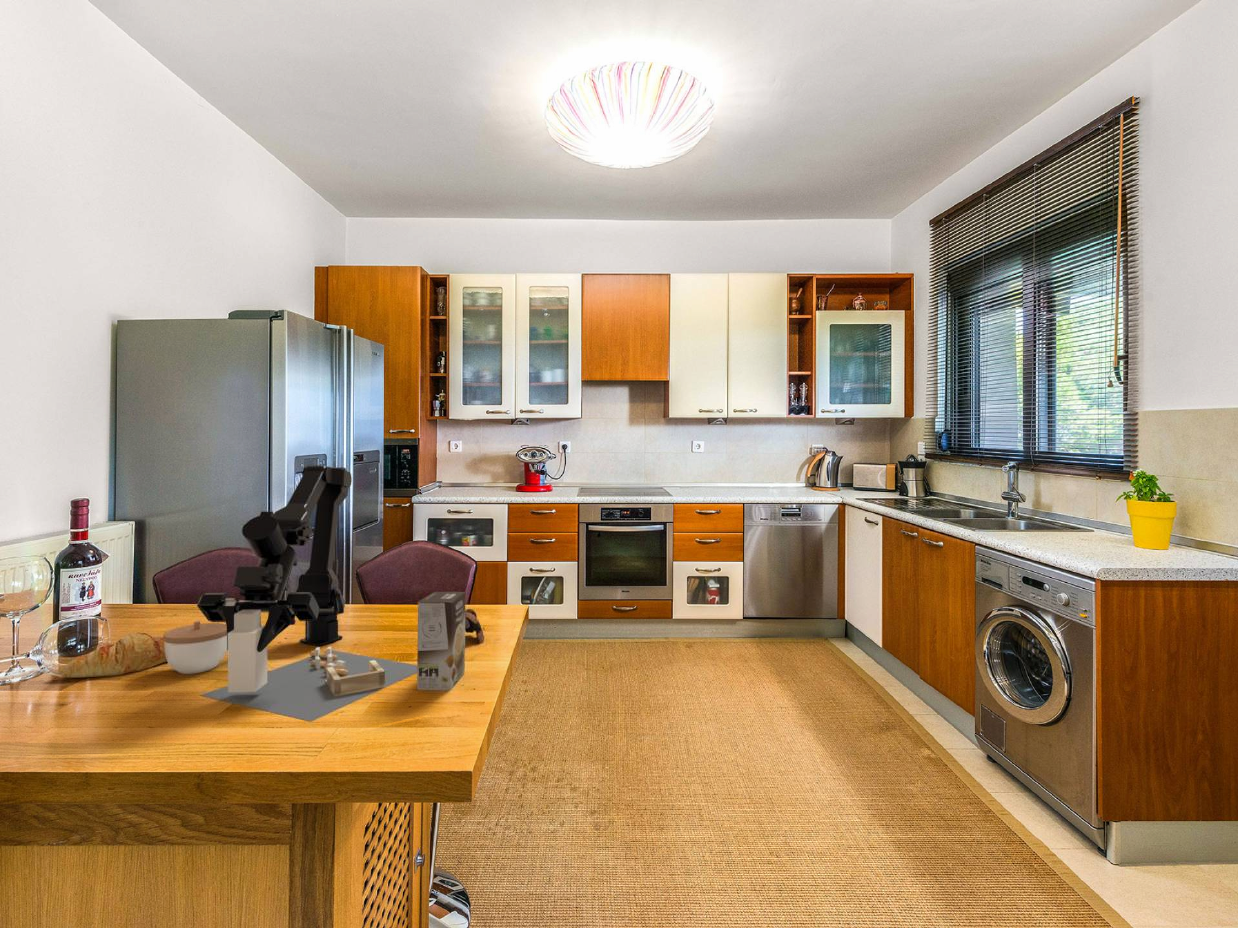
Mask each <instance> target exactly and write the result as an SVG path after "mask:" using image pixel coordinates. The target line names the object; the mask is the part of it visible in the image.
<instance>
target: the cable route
mask: <svg viewBox="0 0 1238 928" xmlns="http://www.w3.org/2000/svg"><path fill="white" fill-rule="evenodd" d="M332 650H333V649H332V646H328V647H327V648H326V651H327V653H323V652H321V647H319V646H318V647H315V650H311V651H310V652H309V657H311V656H314V657H315V660H312V661H311V665H314V666H315V668H316V669H317V670H318V669H320V667H325V668H324V671H325V672H326V675H327V668H330V667H333V668H334V670H335V671H336V673H337V674H340V675H345V676H346V675H347V674H348V670H345V662H344V661H340V660H338V661H336V664H334V663H333V660H336V659H337V655H332ZM320 658H325V659H327V662H323V661H320Z"/></svg>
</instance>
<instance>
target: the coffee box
mask: <svg viewBox="0 0 1238 928" xmlns="http://www.w3.org/2000/svg"><path fill="white" fill-rule="evenodd" d="M465 611H466V591H433V592H432V593H430V594H428V595H427V596H425V597H423V598H422V599H420V600H417V648H416V649H417V658H416V659H417V662H416V663H417V664H416V665H417V673H416V675H417V677H416V679H417V681H416V690H418V691H452V690H453V688H454V687H455V686H456V685H457V684H458V682H459V681H460V680H461V679H462V678H463V676H464V675H465V674H466V673H465V672H466V671H465V668H466V667H465V666H466V631H465Z"/></svg>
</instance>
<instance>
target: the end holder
mask: <svg viewBox="0 0 1238 928" xmlns="http://www.w3.org/2000/svg"><path fill="white" fill-rule="evenodd" d="M326 683H327V685H328V686H329V688H330V690H331V691H332V693H333V694H334V696H339V695H345V694H350V693H355V692H361V691H366V690H371V689H376V688H382V687H385V671H384V670H383V669H382V667H381V666H380V665H379V664H378V663H377V662H376V661H375V660H372V661H369V672H368V673H362V674H356V675H351V676H345V677H339V676H338V674H337V673H336V671H335V670H334V668H333V667H330V668H327V680H326ZM385 688H386V687H385Z"/></svg>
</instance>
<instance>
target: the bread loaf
mask: <svg viewBox="0 0 1238 928" xmlns="http://www.w3.org/2000/svg"><path fill="white" fill-rule="evenodd" d="M164 663H168V662H167V660H166V657H165V652H164V640H163V636H151V635H150V634H148V633H147V632H146V633H145V632H139V631H138V632H137V631H136V632H132V633H129V634H127V635H125V636H124V637H121V638H119V639H118V641H116V642H112V643H108V644H104V645H101V646H99V647H98V648H97V649H95V650H94V651H90V652H89V653H87V654H83V655H80V656H78V657H76V658H75V659H73V660H71V661H70V662H69V663H67V664H63V665H60V666H59V667H58V668H57V671H56V672H57V674H58V676H61V677H63V678H70V679H71V678H72V679H73V678H74V679H75V678H78V679H79V678H97V677H109V676H119V675H124V674H128V673H135V672H139V671H143V670H146V669H150V668H152V667H155V666H158V665H160V664H164Z"/></svg>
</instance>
